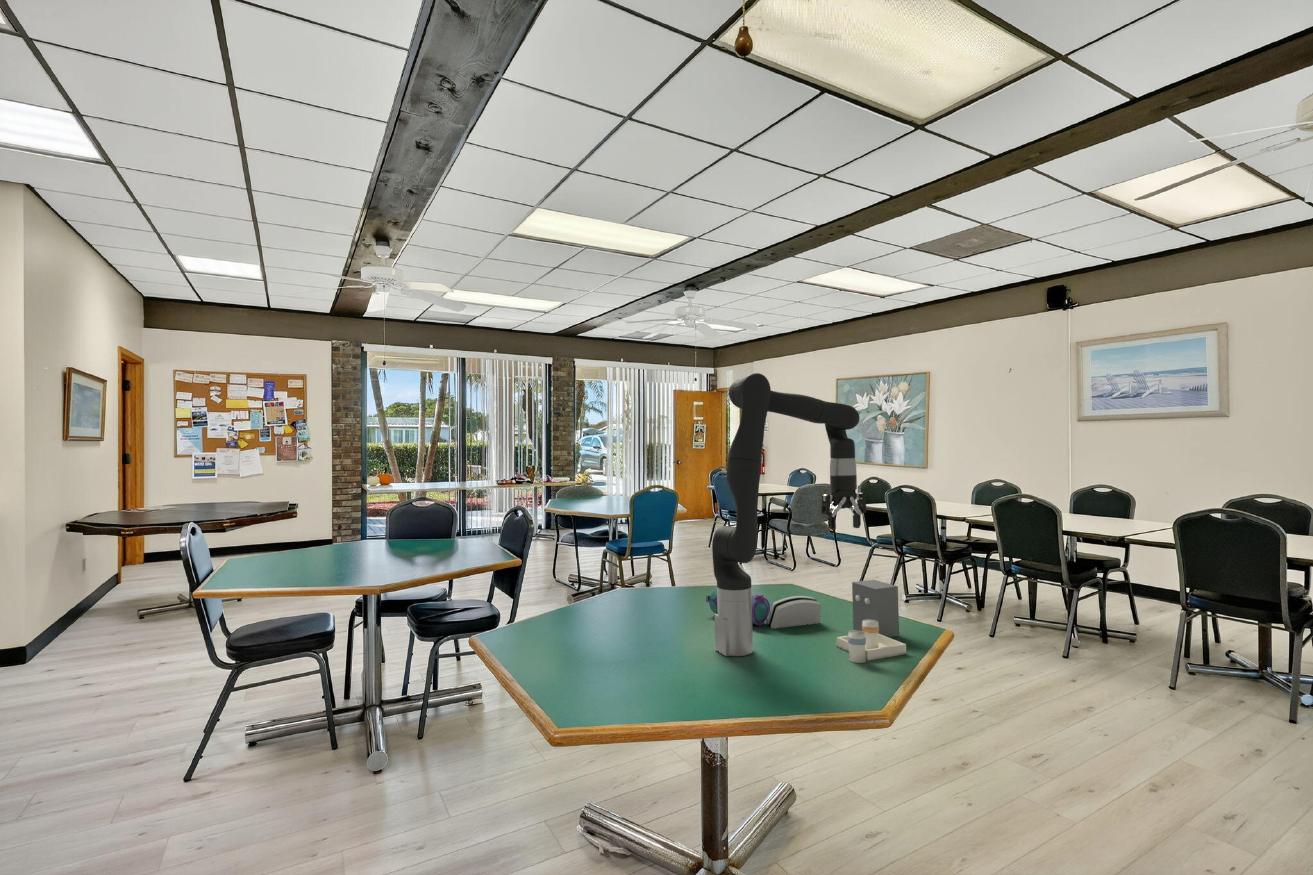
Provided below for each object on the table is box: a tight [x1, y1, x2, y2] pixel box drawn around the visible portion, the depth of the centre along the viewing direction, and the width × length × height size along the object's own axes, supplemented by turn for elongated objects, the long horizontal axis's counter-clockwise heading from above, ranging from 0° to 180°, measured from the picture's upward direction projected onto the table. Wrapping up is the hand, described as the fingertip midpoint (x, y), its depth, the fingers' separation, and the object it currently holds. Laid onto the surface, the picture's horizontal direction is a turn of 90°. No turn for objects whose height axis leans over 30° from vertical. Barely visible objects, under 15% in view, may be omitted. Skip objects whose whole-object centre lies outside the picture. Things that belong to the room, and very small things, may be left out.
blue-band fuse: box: [847, 630, 867, 664], centre depth 156 cm, size 4×4×7 cm
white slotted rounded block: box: [765, 595, 822, 629], centre depth 188 cm, size 17×5×10 cm, turn 107°
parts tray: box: [836, 634, 907, 662], centre depth 163 cm, size 12×12×2 cm
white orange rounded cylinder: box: [862, 619, 879, 650], centre depth 163 cm, size 4×4×7 cm
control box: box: [851, 579, 900, 638], centre depth 179 cm, size 9×10×14 cm
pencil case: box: [705, 587, 771, 627], centre depth 195 cm, size 21×9×10 cm, turn 39°
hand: (844, 528), depth 180 cm, fingers open, 8 cm apart
